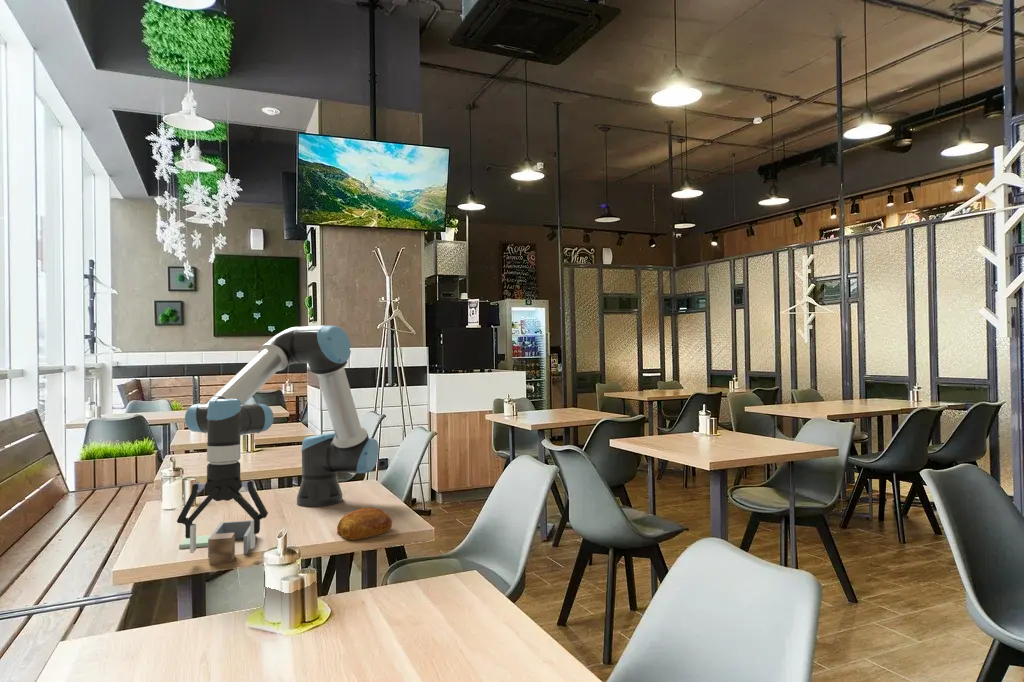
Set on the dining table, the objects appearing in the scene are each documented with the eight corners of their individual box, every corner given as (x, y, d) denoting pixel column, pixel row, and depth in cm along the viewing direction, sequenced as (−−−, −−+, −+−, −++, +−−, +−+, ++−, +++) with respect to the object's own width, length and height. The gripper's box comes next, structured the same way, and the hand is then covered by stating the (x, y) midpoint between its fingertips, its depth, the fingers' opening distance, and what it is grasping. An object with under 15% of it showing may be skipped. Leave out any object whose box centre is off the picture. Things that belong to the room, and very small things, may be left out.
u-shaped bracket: (256, 536, 181) (256, 520, 181) (246, 553, 165) (246, 536, 165) (221, 538, 179) (221, 522, 179) (208, 557, 163) (208, 539, 163)
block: (234, 556, 163) (234, 532, 163) (231, 562, 158) (231, 537, 158) (213, 558, 162) (213, 534, 162) (209, 564, 157) (209, 539, 157)
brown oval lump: (399, 540, 184) (403, 511, 185) (352, 544, 173) (356, 513, 174) (371, 529, 194) (374, 502, 195) (324, 532, 183) (328, 504, 184)
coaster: (218, 538, 180) (218, 534, 180) (212, 546, 172) (212, 542, 172) (186, 540, 178) (186, 536, 178) (179, 548, 170) (179, 544, 170)
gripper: (279, 457, 166) (278, 541, 165) (172, 462, 160) (171, 548, 159) (275, 461, 159) (275, 549, 158) (163, 466, 153) (162, 557, 152)
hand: (223, 549), depth 159 cm, fingers open, 13 cm apart
